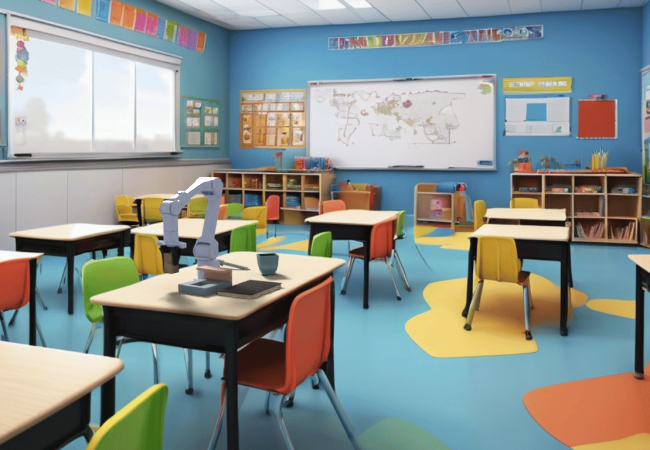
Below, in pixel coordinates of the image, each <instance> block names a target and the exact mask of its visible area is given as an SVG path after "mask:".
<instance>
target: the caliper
mask: <svg viewBox="0 0 650 450" xmlns="http://www.w3.org/2000/svg"><path fill="white" fill-rule="evenodd" d="M216 259H217V260H218V261H219V263H220V267H224V266H227V267H231V268H235V269H238V270H244V271H250V270H251V269H250V268H249V266H244V265H239V264H237V263H232V262H228V261H225V260H223V259H220V258H216Z"/></svg>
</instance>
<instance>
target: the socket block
mask: <svg viewBox="0 0 650 450" xmlns="http://www.w3.org/2000/svg"><path fill="white" fill-rule="evenodd" d="M230 286H233V280H232V281H224V280H217V279H210V278H201V279H197V280H194V279H193V280H189V281H187V282H186V281H185V282H182V283H178V284H177V290H178V293H183V294H190V295H197V296H202V297H207V296H210V295H215V294H216V293H217V291H218V290H221V289H224V288H227V287H230Z"/></svg>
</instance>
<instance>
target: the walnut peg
mask: <svg viewBox="0 0 650 450" xmlns="http://www.w3.org/2000/svg"><path fill="white" fill-rule="evenodd" d="M163 269H164V274H169V275H174V274H177V273H180V264H179V265H176V266H174V265H173V257H172V253H171V252H167V253H164V258H163Z"/></svg>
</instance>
